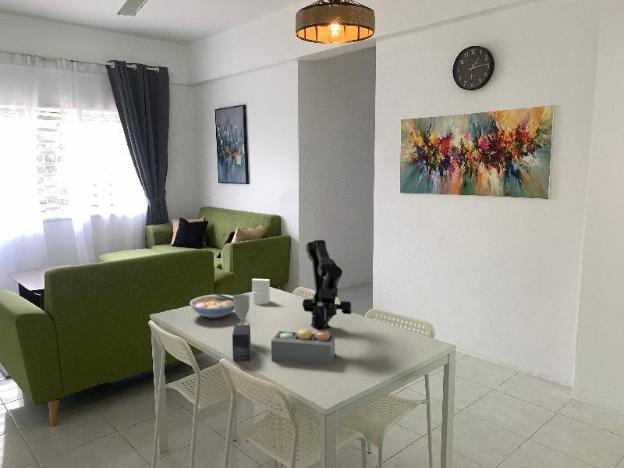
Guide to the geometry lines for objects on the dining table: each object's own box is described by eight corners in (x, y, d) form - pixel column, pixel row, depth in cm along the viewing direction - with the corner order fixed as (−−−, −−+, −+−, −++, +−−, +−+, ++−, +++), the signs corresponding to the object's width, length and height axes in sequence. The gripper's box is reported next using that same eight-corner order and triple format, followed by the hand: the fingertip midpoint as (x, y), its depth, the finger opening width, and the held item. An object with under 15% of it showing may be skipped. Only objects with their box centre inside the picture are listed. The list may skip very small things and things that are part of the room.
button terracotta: (317, 337, 183) (317, 329, 182) (330, 338, 182) (330, 330, 181) (314, 342, 178) (314, 334, 177) (328, 343, 177) (328, 335, 176)
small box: (234, 350, 187) (233, 324, 185) (251, 349, 188) (250, 324, 186) (232, 361, 177) (231, 334, 175) (250, 361, 177) (249, 333, 176)
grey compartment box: (279, 349, 188) (278, 331, 187) (334, 354, 184) (334, 335, 182) (271, 360, 178) (271, 340, 177) (330, 365, 173) (330, 345, 172)
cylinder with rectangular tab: (250, 304, 247) (249, 281, 245) (255, 299, 256) (254, 277, 254) (267, 305, 246) (267, 282, 244) (271, 300, 254) (271, 277, 252)
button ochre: (299, 336, 184) (299, 328, 184) (312, 337, 183) (312, 329, 183) (296, 341, 179) (296, 333, 179) (309, 342, 178) (309, 334, 178)
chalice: (236, 343, 194) (235, 300, 191) (231, 337, 200) (230, 295, 197) (253, 340, 198) (252, 297, 195) (247, 334, 203) (247, 293, 201)
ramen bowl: (180, 315, 229) (179, 298, 228) (221, 305, 245) (221, 289, 243) (207, 328, 211) (206, 310, 210) (250, 317, 226) (250, 300, 225)
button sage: (281, 339, 186) (281, 332, 185) (294, 340, 185) (294, 333, 184) (278, 344, 181) (277, 336, 180) (291, 345, 180) (291, 337, 179)
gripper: (303, 278, 187) (297, 314, 178) (351, 281, 183) (347, 318, 174) (307, 293, 195) (301, 328, 186) (353, 295, 192) (349, 331, 183)
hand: (324, 326), depth 182 cm, fingers closed
